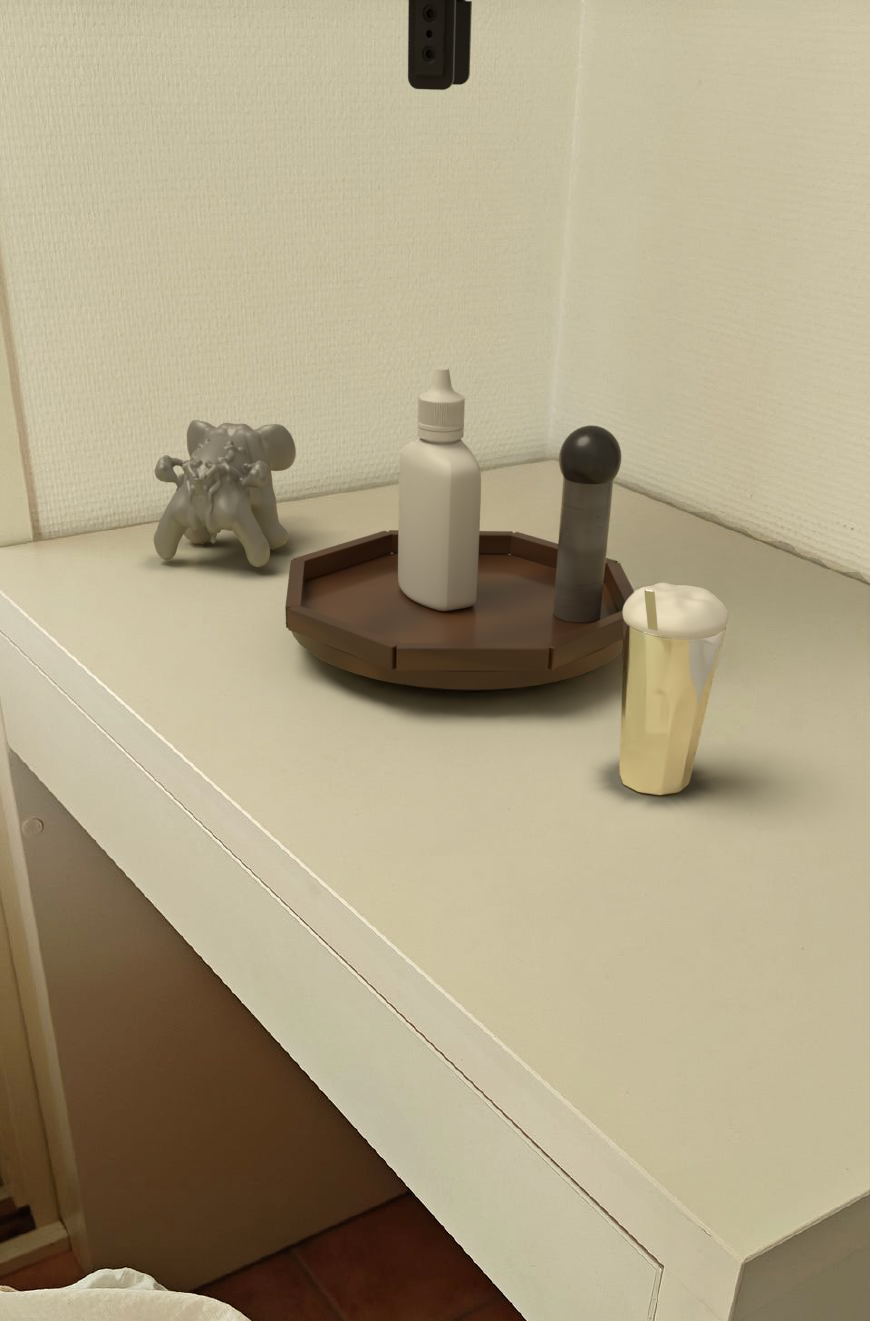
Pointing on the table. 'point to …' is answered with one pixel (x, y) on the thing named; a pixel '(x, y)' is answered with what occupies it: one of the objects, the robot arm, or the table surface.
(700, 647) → the milkshake
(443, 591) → the eye dropper bottle
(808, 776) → the table surface
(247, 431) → the gray elephant figurine
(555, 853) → the table surface
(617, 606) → the tray
